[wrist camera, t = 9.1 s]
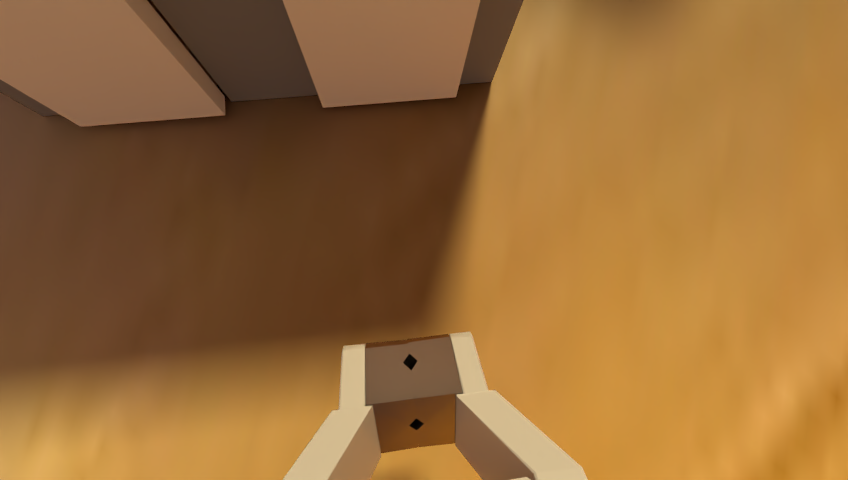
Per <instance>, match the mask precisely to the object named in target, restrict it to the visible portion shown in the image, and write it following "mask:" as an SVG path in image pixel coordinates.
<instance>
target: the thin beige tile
mask: <svg viewBox="0 0 848 480" xmlns="http://www.w3.org/2000/svg"><path fill="white" fill-rule="evenodd" d="M0 80H2V81H4V82H5V83H7V84H9V85H11V86H12V87H14V88H16V89H17V90H19V91H21V92H22V93H24V94H26V95H28V96H29V97H31V98H33V99H34V100H36V101H38V102H39V103H41V104H43V105H44V106H46V107H48V108H50V109H51V110H53V111H55V112H56V113H58V114H60V115H61V116H63V117H65V118H67V119H68V120H70V121H72V122H73V123H75V124H77V125H78V126H80V127H83V126H96V125H108V124H121V123H134V122H147V121H159V120H172V119H185V118H197V117H210V116H223V115H225V96H224V95H223V94H222V93H221V91H220V90H219V89H218V88H217V83H216V82H215V80H214V79H213V78H212V77H211V75H210V74H209V73H208V72H207V70H206V69H205V68H204V66H203V65H202V64H201V63H200V61H199V60H198V59H197V58H196V56H195V55H194V54H193V53H192V51H191V50H190V49H189V48H188V46H187V45H186V44H185V43H184V41H183V40H182V39H181V38H180V36H179V35H178V34H177V32H176V31H175V30H174V29H173V27H172V26H171V25H170V24H169V22H168V21H167V20H166V19H165V17H164V16H163V15H162V14H161V12H160V11H159V10H158V9H157V7H156V6H155V5H154V3H153V2H152V1H151V0H0Z"/></svg>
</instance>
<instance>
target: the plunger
mask: <svg viewBox="0 0 848 480" xmlns="http://www.w3.org/2000/svg"><path fill="white" fill-rule="evenodd" d="M283 3H284V6H285V8H286V11H287V14H288V16H289V19H290V21H291V24H292V27H293V29H294V32H295V35H296V37H297V40H298V43H299V45H300V48H301V51H302V53H303V56H304V59H305V61H306V64H307V67H308V69H309V72H310V75H311V77H312V80H313V83H314V85H315V88H316V91H317V93H318V96H319V99H320V101H321V104H322V107H323V108H326V107H338V106H351V105H364V104H376V103H389V102H402V101H415V100H427V99H440V98H453V97H456V95H457V91H458V87H459V83H460V79H461V75H462V71H463V67H464V64H465V60H466V56H467V52H468V48H469V44H470V40H471V36H472V32H473V28H474V24H475V20H476V16H477V12H478V8H479V4H480V0H283Z"/></svg>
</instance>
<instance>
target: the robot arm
mask: <svg viewBox="0 0 848 480" xmlns="http://www.w3.org/2000/svg"><path fill="white" fill-rule="evenodd" d="M453 443H455V445H456V447H457V448H458V449H459V450H460V452H461V453H462V454H463V455H464V457H465V458H466V459H467V461H468V462H469V463H470V464H471V466H472V467H473V468H474V469H475V471H476V472H477V473H478V474H479V476H480V477H481V478H482V479H483V480H588V479H587V477H586V475H585V473H584V470H583V468H582V467H581V466H580V465H579V464H578V463H577V462H576V461H575V460H573V459H572V458H571V457H570V456H569V455H568V454H567V453H566V452H564V451H563V450H562V449H561V448H560V447H559V446H558V445H557V444H555V443H554V442H553V441H552V440H551V439H550V438H549V437H548V436H546V435H545V434H544V433H543V432H542V431H541V430H540V429H539V428H537V427H536V426H535V425H534V424H533V423H532V422H531V421H530V420H528V419H527V418H526V417H525V416H524V415H523V414H522V413H521V412H519V411H518V410H517V409H516V408H515V407H514V406H513V405H512V404H510V403H509V402H508V401H507V400H506V399H505V398H504V397H503V396H501V395H500V394H499V393H498V392H497V391H496V390H488V387H487V383H486V380H485V377H484V373H483V370H482V366H481V363H480V360H479V356H478V353H477V349H476V346H475V343H474V339H473V336H472V334H471V333H470V332H462V333H454V334H449V335H448V334H443V335H435V336H428V337H420V338H412V339H407V340H398V341H387V342H376V343H366V344H357V345H347V346H344V347H343V350H342V359H341V377H340V394H339V410H332V411H331V413H330V414H329V415H328V417H327V418H326V420H325V421H324V422H323V424H322V425H321V427H320V428H319V429H318V431H317V432H316V434H315V435H314V436H313V438H312V439H311V441H310V442H309V443H308V445H307V446H306V448H305V449H304V450H303V452H302V453H301V455H300V456H299V457H298V459H297V460H296V462H295V463H294V464H293V466H292V467H291V469H290V470H289V471H288V473H287V474H286V476H285V477H284V478H283V480H370V479H371V476H372V474H373V472H374V470H375V468H376V466H377V464H378V462H379V460H380V458H381V453H387V452H393V451H399V450H405V449H411V448H417V447H425V446H435V445H444V444H453Z"/></svg>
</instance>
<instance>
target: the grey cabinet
mask: <svg viewBox="0 0 848 480" xmlns="http://www.w3.org/2000/svg"><path fill="white" fill-rule="evenodd" d="M151 1H152V2H153V3H154V5H155V6H156V7H157V9H158V10H159V11H160V12H161V14H162V15H163V16H164V17H165V19H166V20H167V21H168V22H169V24H170V25H171V26H172V27H173V29H174V30H175V31H176V32H177V34H178V35H179V36H180V38H181V39H182V40H183V41H184V43H185V44H186V45H187V46H188V48H189V49H190V50H191V51H192V53H193V54H194V55H195V56H196V58H197V59H198V60H199V61H200V63H201V64H202V65H203V66H204V68H205V69H206V70H207V72H208V73H209V74H210V75H211V77H212V78H213V79H214V80H215V82H216V83H217V84H218V85H219V87H220V88H221V89H222V90H223V92H224V93H225V94H226V95H227V97H228V98H229V99H230V101H231V102H234V101H247V100H260V99H274V98H287V97H300V96H313V95H318V93H317V91H316V88H315V85H314V83H313V80H312V77H311V75H310V72H309V69H308V67H307V64H306V61H305V59H304V56H303V53H302V51H301V48H300V45H299V43H298V40H297V37H296V35H295V32H294V29H293V27H292V24H291V21H290V19H289V16H288V14H287V11H286V8H285V6H284V3H283V0H151ZM522 3H523V0H480V4H479V8H478V12H477V16H476V20H475V24H474V28H473V32H472V36H471V40H470V44H469V48H468V52H467V56H466V60H465V64H464V67H463V71H462V75H461V79H460V83H459V84H470V83H483V82H492V80H493V77H494V75H495V72H496V70H497V67H498V64H499V62H500V59H501V57H502V54H503V52H504V49H505V46H506V44H507V41H508V39H509V36H510V33H511V31H512V28H513V26H514V23H515V21H516V18H517V15H518V13H519V10H520V8H521V5H522ZM0 92H1V93H3V94H5V95H6V96H8V97H10V98H12V99H14V100H15V101H17V102H19V103H21V104H23V105H24V106H26V107H28V108H30V109H32V110H33V111H35V112H37V113H39V114H40V115H42V116H51V115H60V114H58V113H56V112H55V111H53V110H51V109H50V108H48V107H46V106H44V105H43V104H41V103H39V102H38V101H36V100H34V99H33V98H31V97H29V96H28V95H26V94H24V93H22V92H21V91H19V90H17V89H16V88H14V87H12V86H11V85H9V84H7V83H5V82H4V81H2V80H0Z"/></svg>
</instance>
